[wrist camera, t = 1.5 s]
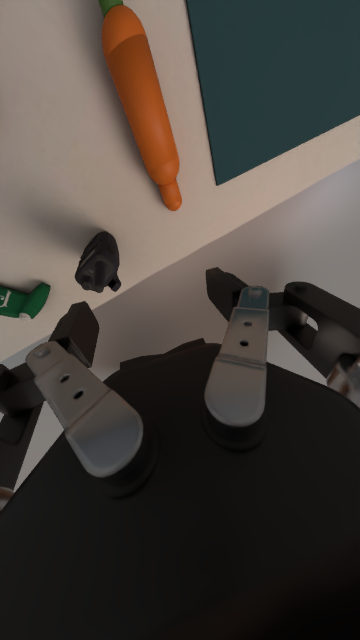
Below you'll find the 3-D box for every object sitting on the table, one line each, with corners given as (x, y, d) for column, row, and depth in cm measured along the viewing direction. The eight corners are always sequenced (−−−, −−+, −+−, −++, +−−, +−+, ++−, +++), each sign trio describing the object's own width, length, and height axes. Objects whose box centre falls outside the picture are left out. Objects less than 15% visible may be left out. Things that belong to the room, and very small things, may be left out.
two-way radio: (103, 224, 25) (96, 265, 14) (128, 247, 28) (139, 297, 16) (79, 252, 26) (54, 310, 15) (105, 272, 29) (101, 333, 18)
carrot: (82, 6, 15) (74, -36, 12) (124, -17, 15) (127, -64, 12) (161, 214, 26) (168, 220, 23) (186, 202, 26) (195, 206, 23)
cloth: (179, -36, 15) (180, -39, 15) (444, -177, 14) (449, -182, 14) (216, 185, 26) (217, 185, 25) (368, 109, 25) (371, 109, 25)
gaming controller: (-26, 266, 25) (-45, 306, 24) (-38, 256, 22) (-60, 301, 21) (52, 289, 30) (39, 323, 29) (51, 284, 27) (37, 322, 25)
